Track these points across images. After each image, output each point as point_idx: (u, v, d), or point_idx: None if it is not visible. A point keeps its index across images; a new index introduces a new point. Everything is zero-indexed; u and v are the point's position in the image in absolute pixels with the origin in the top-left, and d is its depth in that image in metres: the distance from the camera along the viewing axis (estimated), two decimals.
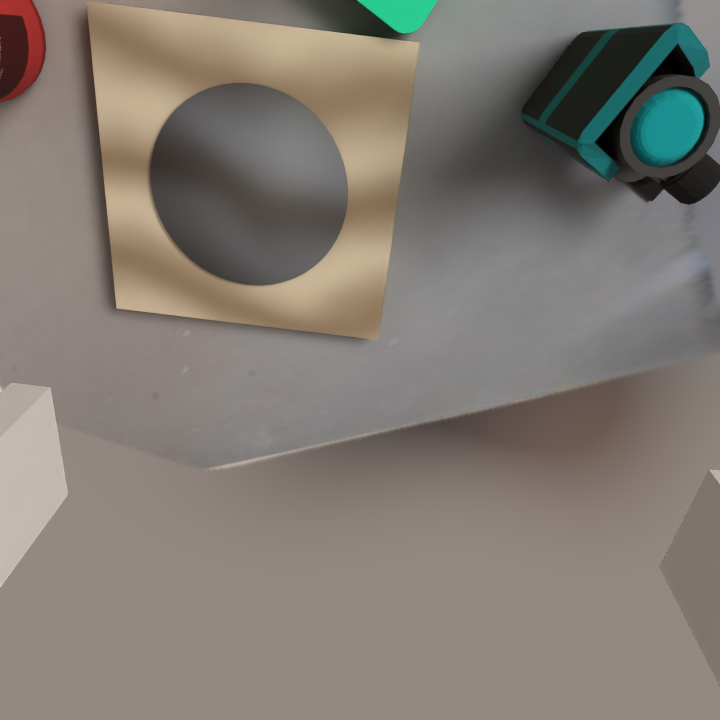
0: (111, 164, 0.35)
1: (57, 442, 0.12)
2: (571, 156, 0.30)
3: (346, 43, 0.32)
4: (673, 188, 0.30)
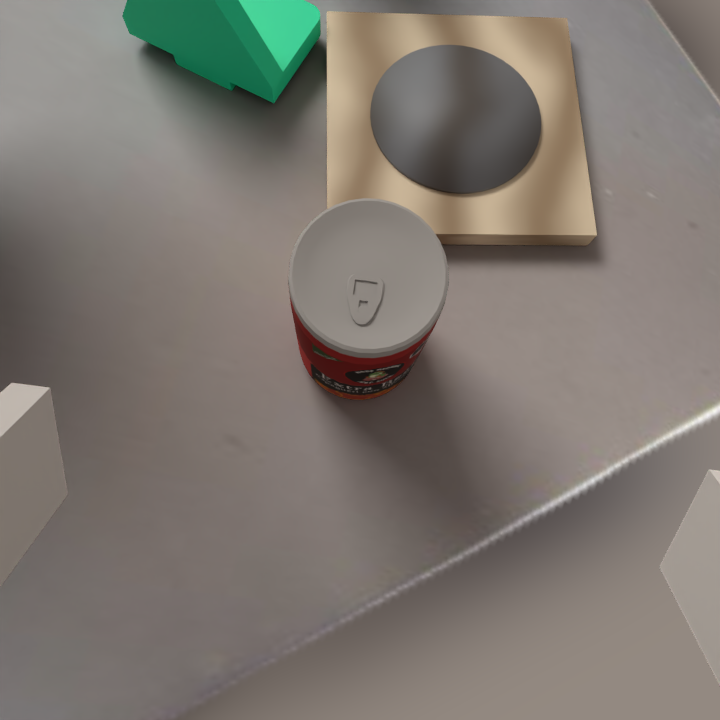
0: (454, 226, 0.39)
1: (57, 442, 0.12)
2: None
3: (333, 55, 0.42)
4: None
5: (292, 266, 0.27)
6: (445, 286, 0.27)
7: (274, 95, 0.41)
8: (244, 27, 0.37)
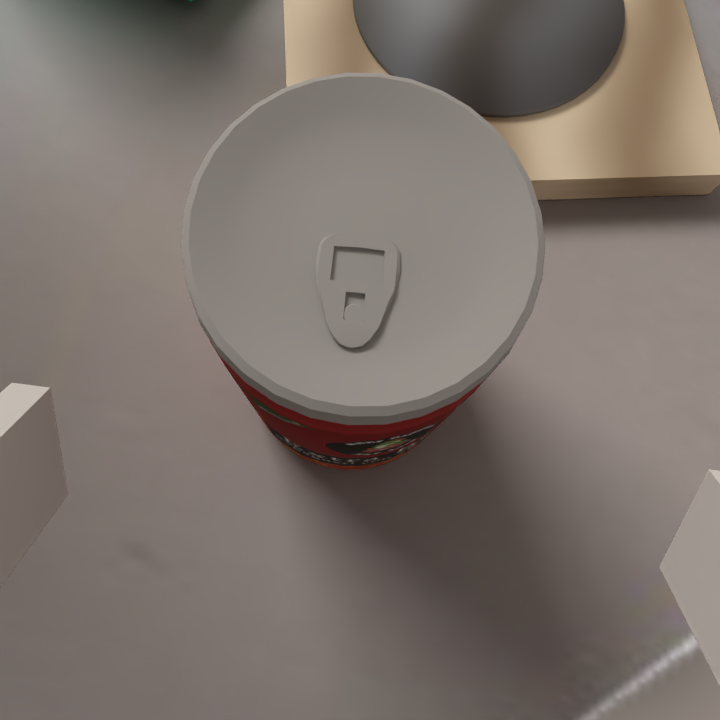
0: None
1: (57, 442, 0.12)
2: None
3: None
4: None
5: (189, 221, 0.12)
6: (539, 252, 0.12)
7: None
8: None
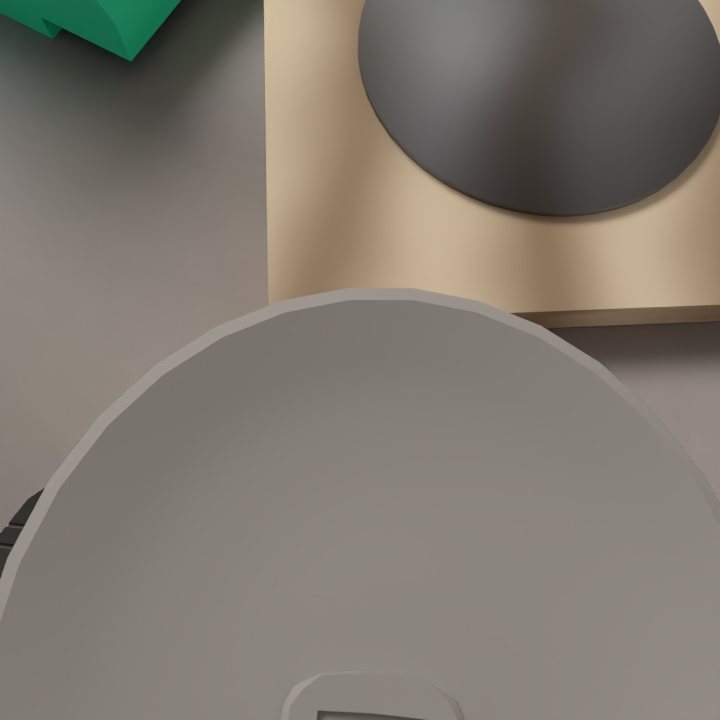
0: (561, 292, 0.17)
1: None
2: None
3: None
4: None
5: None
6: None
7: (129, 43, 0.19)
8: None
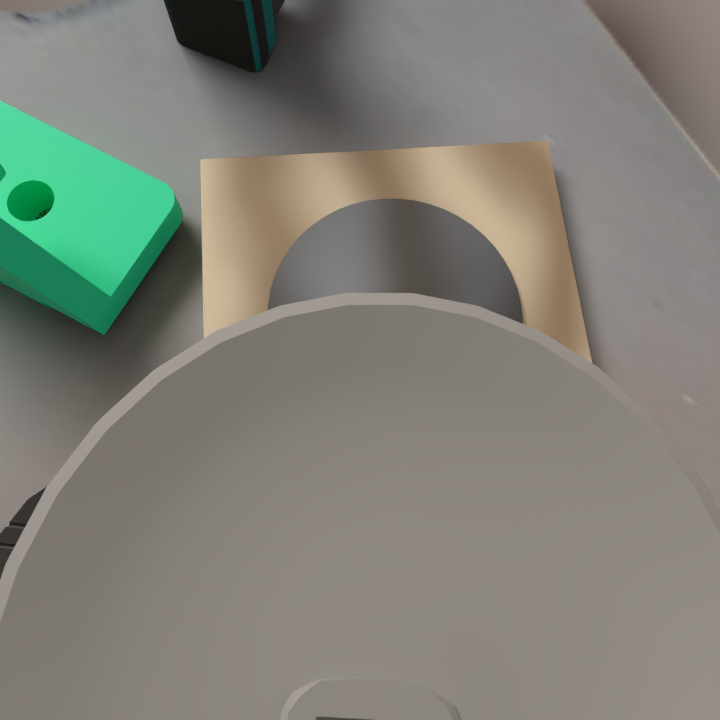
0: None
1: None
2: None
3: (211, 228, 0.28)
4: None
5: None
6: None
7: (102, 327, 0.27)
8: (25, 257, 0.23)
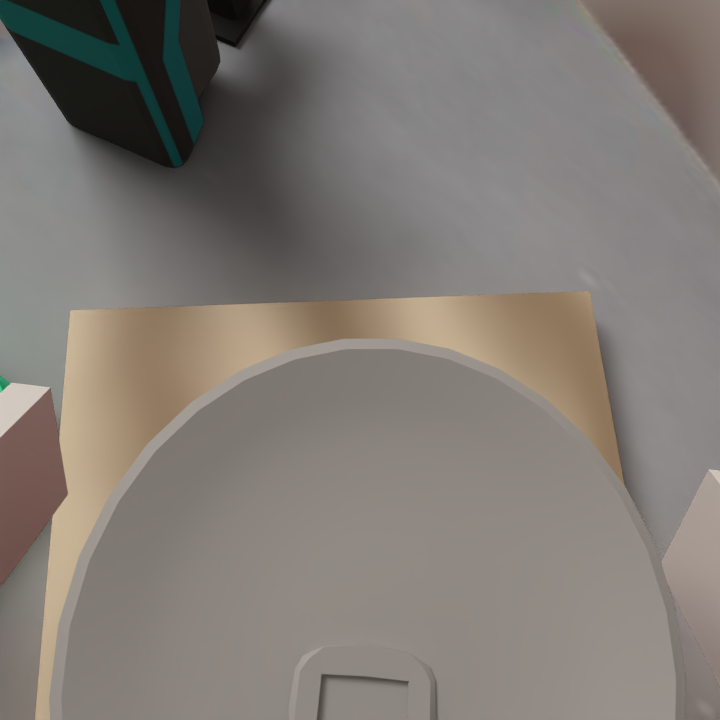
0: None
1: (57, 442, 0.12)
2: (177, 14, 0.19)
3: (75, 424, 0.19)
4: None
5: (65, 650, 0.07)
6: (678, 694, 0.07)
7: None
8: None
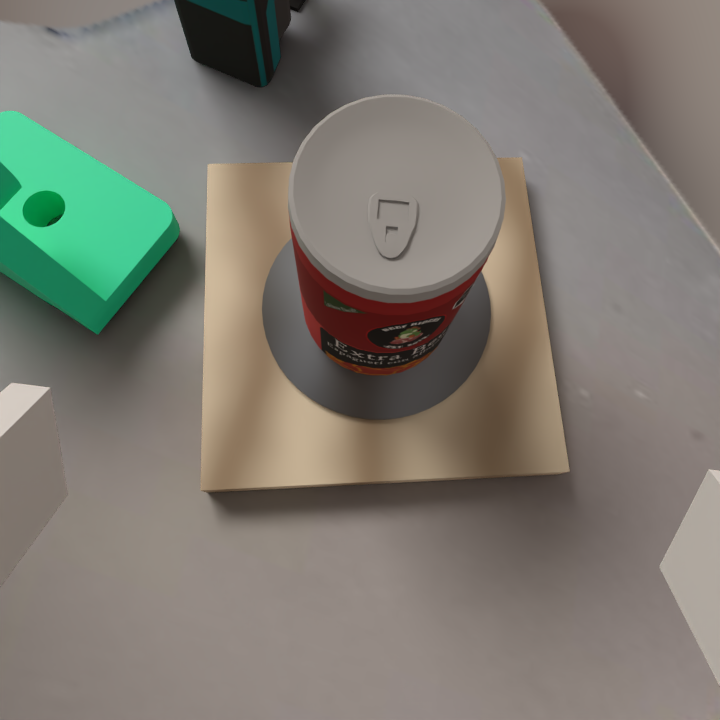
0: (375, 469, 0.28)
1: (56, 442, 0.12)
2: None
3: (215, 226, 0.32)
4: None
5: (293, 184, 0.20)
6: (502, 202, 0.20)
7: (96, 328, 0.30)
8: (31, 261, 0.26)
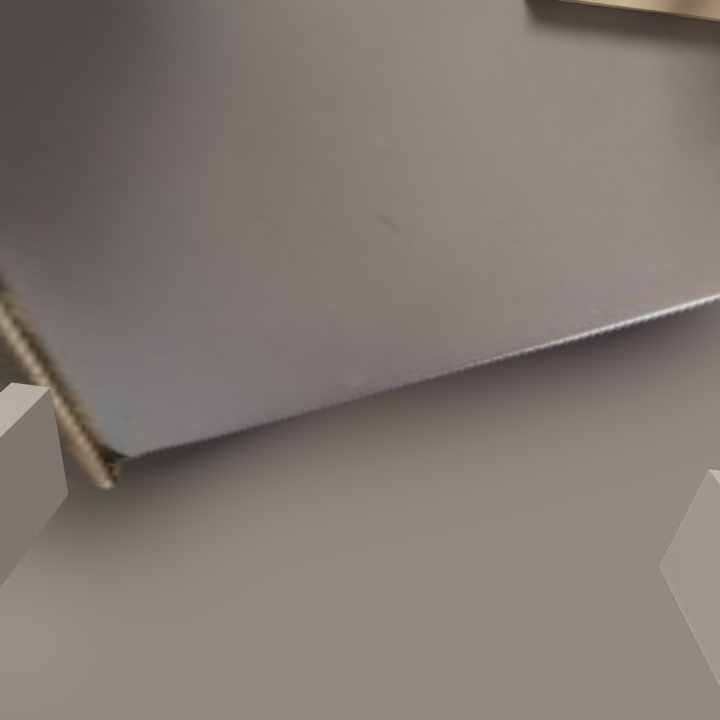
0: (690, 2, 0.30)
1: (56, 442, 0.12)
2: None
3: None
4: None
5: None
6: None
7: None
8: None
